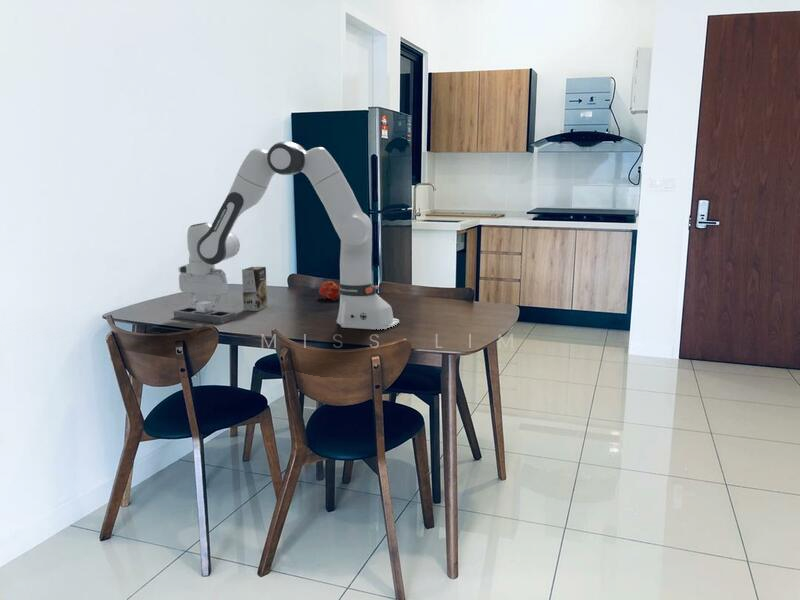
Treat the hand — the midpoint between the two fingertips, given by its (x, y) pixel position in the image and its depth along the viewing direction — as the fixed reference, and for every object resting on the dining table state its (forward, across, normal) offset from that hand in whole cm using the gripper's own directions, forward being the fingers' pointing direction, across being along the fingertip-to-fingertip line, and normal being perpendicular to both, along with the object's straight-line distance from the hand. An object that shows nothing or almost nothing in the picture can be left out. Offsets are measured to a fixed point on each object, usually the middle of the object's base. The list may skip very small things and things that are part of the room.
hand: (205, 305), depth 233 cm
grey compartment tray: (+5, 0, 0) cm, 5 cm away
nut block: (+5, 0, 0) cm, 5 cm away
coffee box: (+5, -6, -22) cm, 23 cm away
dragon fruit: (+6, -23, -51) cm, 56 cm away
